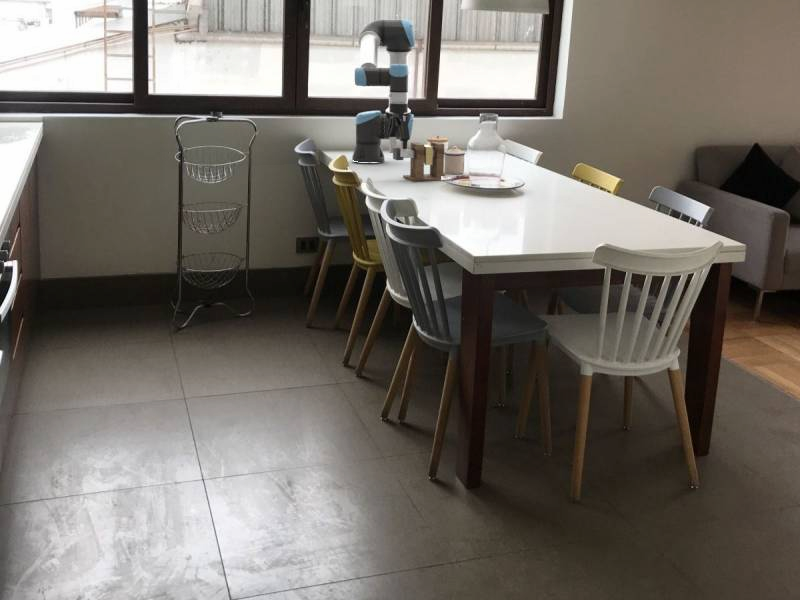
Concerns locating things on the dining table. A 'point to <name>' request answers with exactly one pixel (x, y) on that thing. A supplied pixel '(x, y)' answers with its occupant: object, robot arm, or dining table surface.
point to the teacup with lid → (454, 161)
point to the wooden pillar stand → (418, 164)
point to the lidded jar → (439, 139)
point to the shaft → (410, 153)
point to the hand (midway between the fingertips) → (398, 154)
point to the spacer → (428, 155)
